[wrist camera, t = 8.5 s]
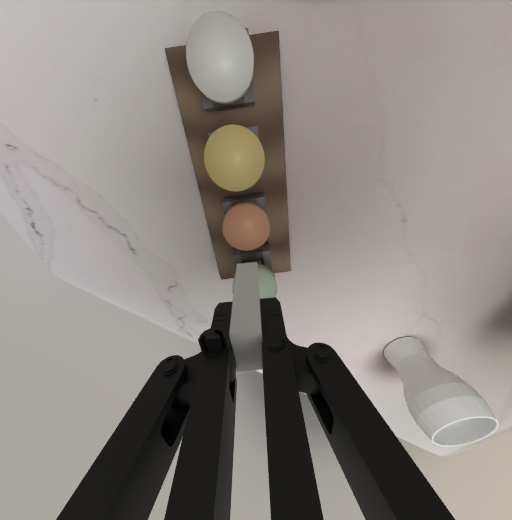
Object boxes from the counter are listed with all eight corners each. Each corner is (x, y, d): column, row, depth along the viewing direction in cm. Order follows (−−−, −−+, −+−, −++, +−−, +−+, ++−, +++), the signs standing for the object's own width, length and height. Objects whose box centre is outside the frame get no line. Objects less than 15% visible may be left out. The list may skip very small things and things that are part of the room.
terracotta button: (223, 197, 27) (217, 208, 22) (264, 192, 26) (267, 202, 22) (230, 235, 29) (227, 253, 25) (268, 230, 29) (272, 247, 24)
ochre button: (207, 132, 22) (196, 129, 17) (258, 124, 22) (261, 120, 17) (218, 184, 24) (211, 194, 20) (263, 178, 24) (267, 187, 19)
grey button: (193, 46, 20) (177, 17, 15) (248, 37, 20) (248, 5, 15) (206, 113, 22) (195, 105, 18) (255, 106, 22) (257, 96, 18)
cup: (370, 365, 48) (417, 449, 35) (384, 331, 43) (445, 416, 29) (417, 363, 48) (480, 447, 35) (436, 330, 43) (519, 413, 30)
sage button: (232, 253, 28) (228, 274, 24) (270, 248, 28) (274, 268, 24) (238, 284, 31) (236, 309, 26) (273, 280, 31) (278, 304, 26)
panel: (169, 54, 22) (152, 34, 18) (276, 37, 21) (283, 13, 17) (222, 274, 35) (218, 291, 31) (289, 266, 34) (294, 282, 30)
